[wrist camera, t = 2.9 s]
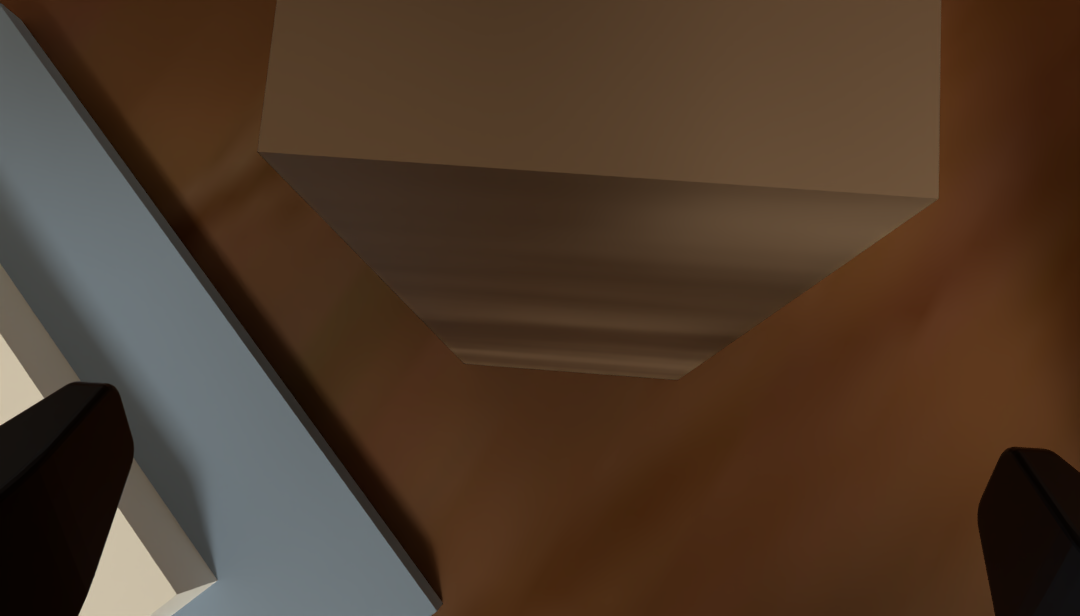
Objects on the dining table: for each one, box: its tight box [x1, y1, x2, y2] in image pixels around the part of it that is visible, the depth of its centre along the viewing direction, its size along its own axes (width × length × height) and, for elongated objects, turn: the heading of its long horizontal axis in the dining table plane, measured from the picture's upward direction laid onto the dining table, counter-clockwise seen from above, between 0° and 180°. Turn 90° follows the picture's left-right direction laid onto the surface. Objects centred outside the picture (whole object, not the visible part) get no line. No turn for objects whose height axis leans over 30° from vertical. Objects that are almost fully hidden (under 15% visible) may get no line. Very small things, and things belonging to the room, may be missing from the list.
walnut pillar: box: [257, 0, 941, 380], centre depth 14 cm, size 4×4×14 cm
